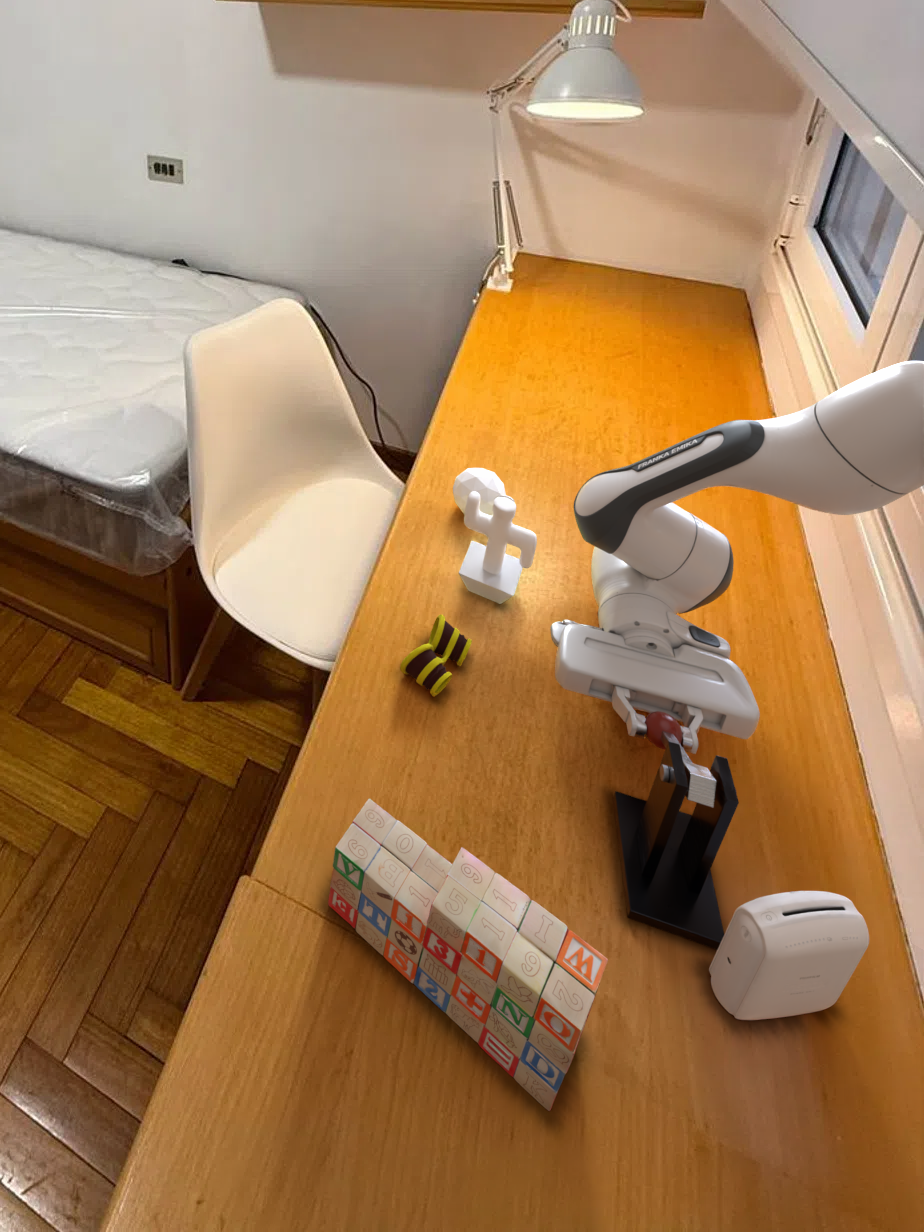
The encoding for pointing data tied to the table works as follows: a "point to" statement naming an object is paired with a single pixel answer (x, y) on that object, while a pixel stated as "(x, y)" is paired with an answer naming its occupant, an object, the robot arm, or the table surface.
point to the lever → (698, 777)
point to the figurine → (495, 550)
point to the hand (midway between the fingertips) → (663, 740)
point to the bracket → (674, 851)
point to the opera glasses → (427, 664)
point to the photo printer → (788, 954)
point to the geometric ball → (478, 488)
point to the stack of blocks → (470, 946)
